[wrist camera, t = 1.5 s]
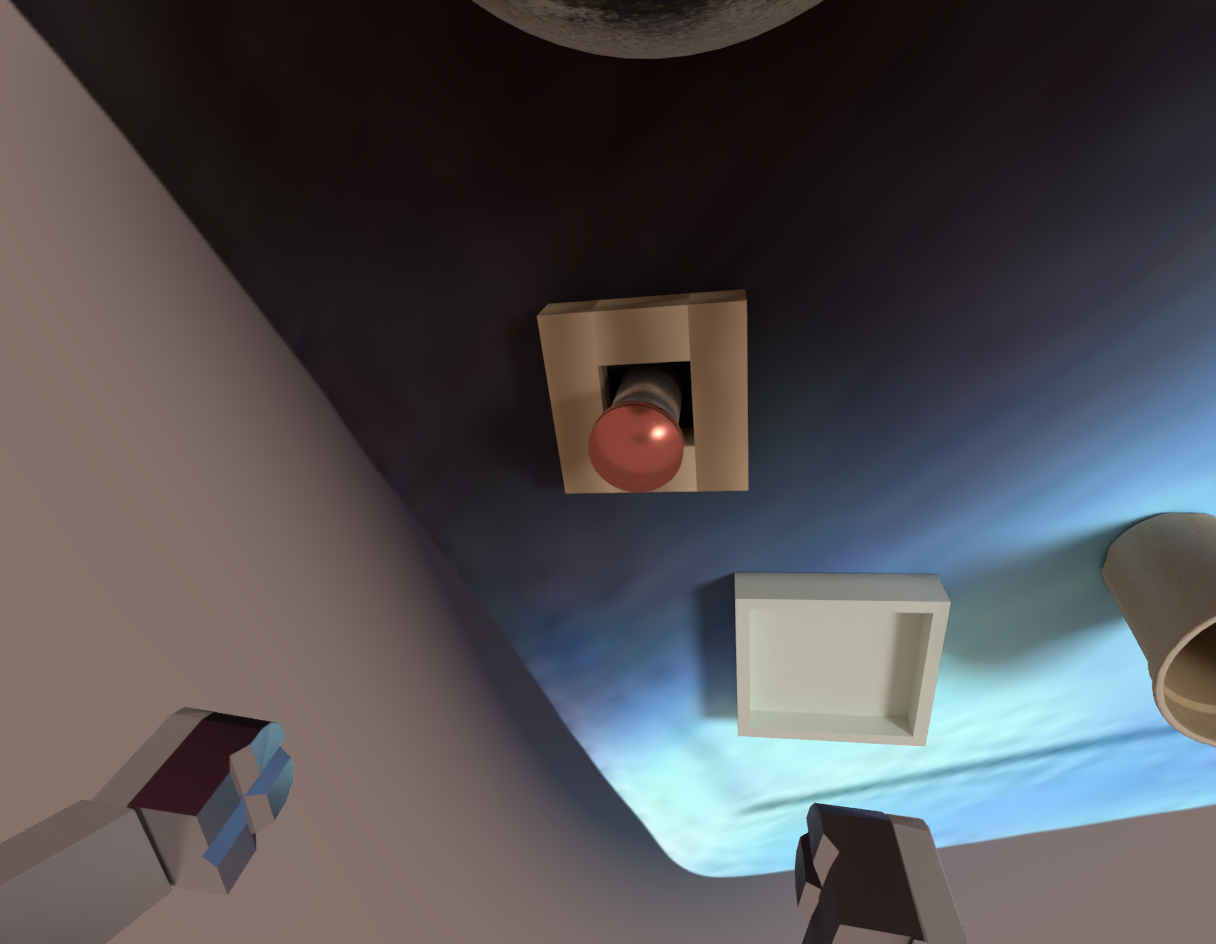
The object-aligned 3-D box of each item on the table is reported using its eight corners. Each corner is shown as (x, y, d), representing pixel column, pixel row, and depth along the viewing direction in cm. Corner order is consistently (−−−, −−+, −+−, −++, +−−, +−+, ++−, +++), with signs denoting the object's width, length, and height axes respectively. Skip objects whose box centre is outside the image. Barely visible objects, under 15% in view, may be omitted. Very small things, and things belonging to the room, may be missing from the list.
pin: (688, 349, 33) (680, 404, 26) (692, 423, 35) (685, 491, 28) (609, 354, 34) (582, 408, 27) (617, 426, 36) (594, 493, 29)
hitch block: (745, 289, 31) (746, 300, 29) (746, 469, 36) (748, 490, 34) (548, 303, 33) (536, 315, 31) (574, 473, 38) (565, 493, 35)
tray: (937, 574, 37) (950, 602, 35) (914, 714, 42) (925, 746, 40) (734, 572, 39) (735, 598, 37) (737, 706, 44) (738, 735, 42)
